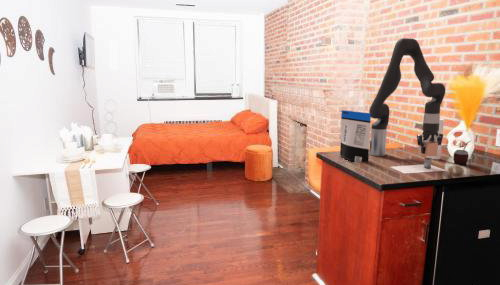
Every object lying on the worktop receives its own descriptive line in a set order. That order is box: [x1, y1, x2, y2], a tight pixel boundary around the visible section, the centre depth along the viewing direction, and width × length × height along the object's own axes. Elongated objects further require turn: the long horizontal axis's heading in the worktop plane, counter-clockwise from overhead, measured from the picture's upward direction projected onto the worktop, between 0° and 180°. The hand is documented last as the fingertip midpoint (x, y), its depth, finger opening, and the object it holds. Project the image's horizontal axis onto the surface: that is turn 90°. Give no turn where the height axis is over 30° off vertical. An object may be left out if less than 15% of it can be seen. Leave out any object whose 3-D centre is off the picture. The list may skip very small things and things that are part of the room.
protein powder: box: [339, 109, 371, 163], centre depth 196 cm, size 10×24×30 cm, turn 25°
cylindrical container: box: [429, 118, 445, 160], centre depth 193 cm, size 7×7×25 cm
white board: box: [390, 164, 447, 174], centre depth 173 cm, size 24×13×2 cm, turn 99°
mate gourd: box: [453, 140, 471, 166], centre depth 183 cm, size 8×8×15 cm
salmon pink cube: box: [420, 141, 438, 157], centre depth 172 cm, size 6×6×7 cm
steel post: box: [423, 156, 433, 169], centre depth 173 cm, size 3×3×6 cm
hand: (428, 153), depth 172 cm, fingers closed on salmon pink cube, 5 cm apart
